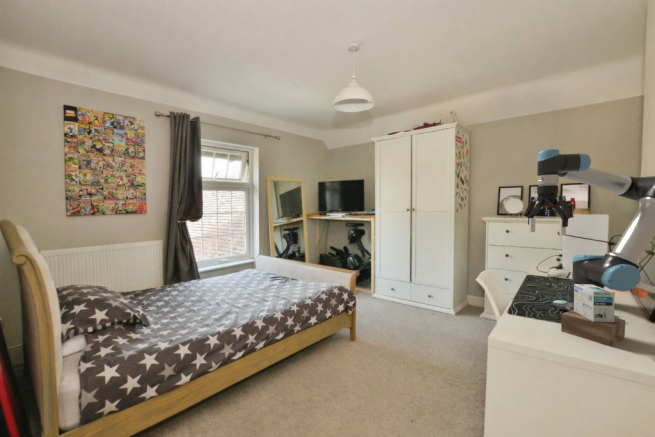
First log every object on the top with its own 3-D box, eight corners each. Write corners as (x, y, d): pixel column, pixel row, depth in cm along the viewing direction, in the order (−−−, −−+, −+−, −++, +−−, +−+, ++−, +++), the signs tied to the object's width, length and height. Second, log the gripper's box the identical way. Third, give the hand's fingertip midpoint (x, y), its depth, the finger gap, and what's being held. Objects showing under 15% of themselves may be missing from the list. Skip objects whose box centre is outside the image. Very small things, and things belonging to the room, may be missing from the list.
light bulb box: (615, 323, 102) (615, 292, 102) (593, 322, 103) (593, 291, 103) (592, 312, 113) (593, 283, 112) (572, 311, 114) (573, 283, 113)
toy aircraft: (556, 304, 142) (556, 293, 142) (614, 315, 127) (615, 303, 127) (547, 313, 131) (548, 301, 131) (610, 326, 116) (610, 312, 116)
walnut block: (576, 325, 118) (577, 308, 117) (624, 339, 105) (625, 320, 105) (561, 332, 112) (561, 313, 112) (610, 347, 100) (610, 326, 99)
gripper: (515, 187, 142) (515, 231, 143) (571, 183, 118) (570, 236, 119) (527, 187, 144) (527, 230, 145) (585, 183, 120) (583, 235, 121)
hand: (546, 233), depth 132 cm, fingers open, 13 cm apart
